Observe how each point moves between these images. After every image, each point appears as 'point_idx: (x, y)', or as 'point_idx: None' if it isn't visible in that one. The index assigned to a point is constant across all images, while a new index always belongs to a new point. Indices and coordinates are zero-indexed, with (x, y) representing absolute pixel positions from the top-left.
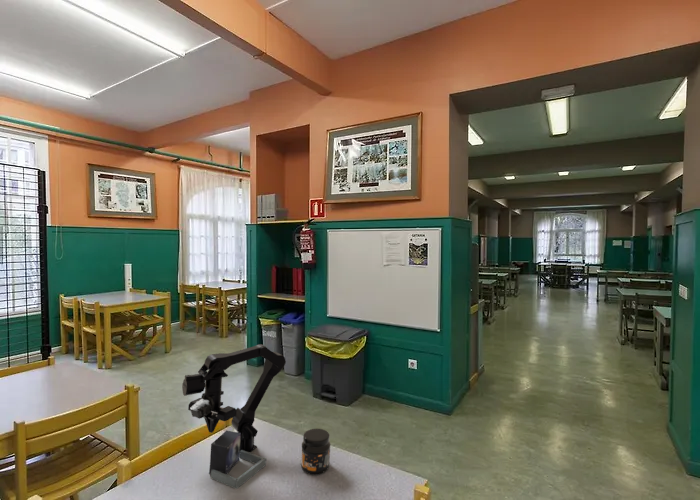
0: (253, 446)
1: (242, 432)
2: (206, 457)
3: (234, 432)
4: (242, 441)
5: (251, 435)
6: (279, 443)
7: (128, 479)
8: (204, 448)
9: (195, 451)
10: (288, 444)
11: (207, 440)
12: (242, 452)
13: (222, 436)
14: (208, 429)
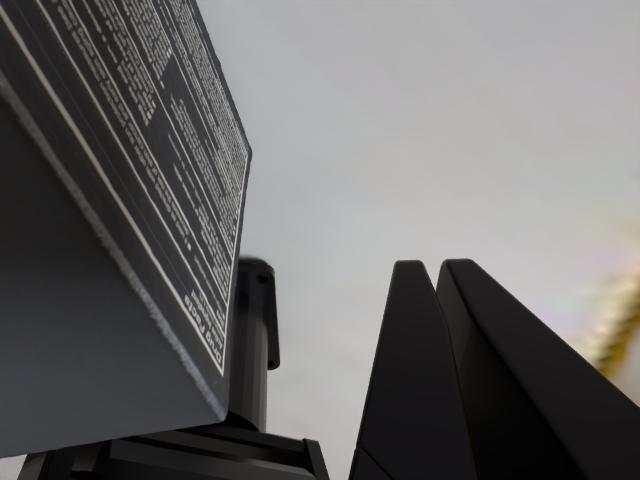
0: None
1: (52, 466)
2: (438, 66)
3: (44, 438)
4: None
5: (27, 457)
6: None
7: None
8: (566, 170)
9: (633, 89)
10: (7, 458)
11: (612, 264)
12: None
13: (49, 282)
14: (500, 298)
